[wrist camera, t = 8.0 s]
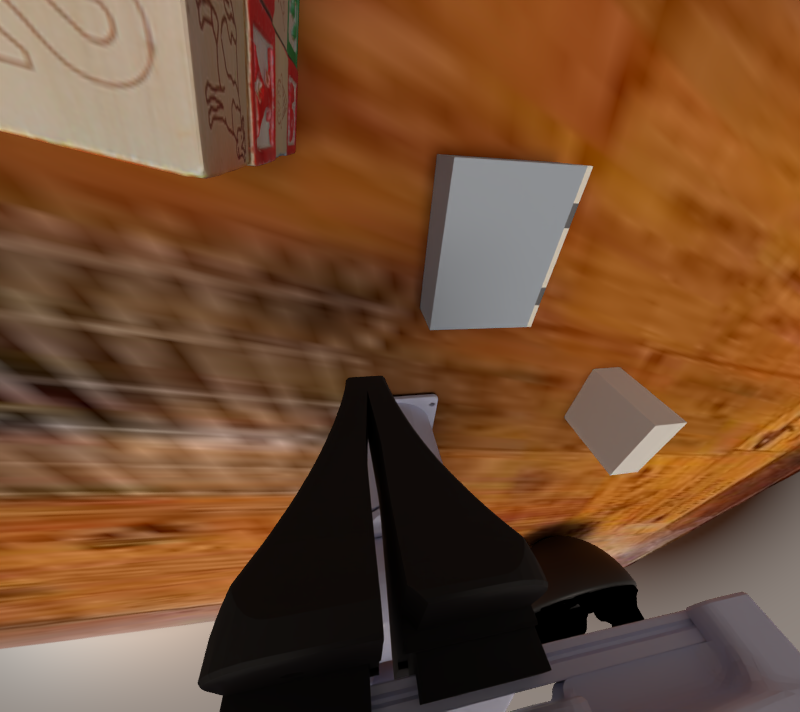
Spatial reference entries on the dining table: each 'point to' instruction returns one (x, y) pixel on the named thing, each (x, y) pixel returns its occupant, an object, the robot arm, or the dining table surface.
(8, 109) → the stack of blocks
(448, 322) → the gray rectangular block
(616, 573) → the coal bowl
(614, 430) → the light grey square block
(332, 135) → the dining table surface
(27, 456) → the dining table surface
